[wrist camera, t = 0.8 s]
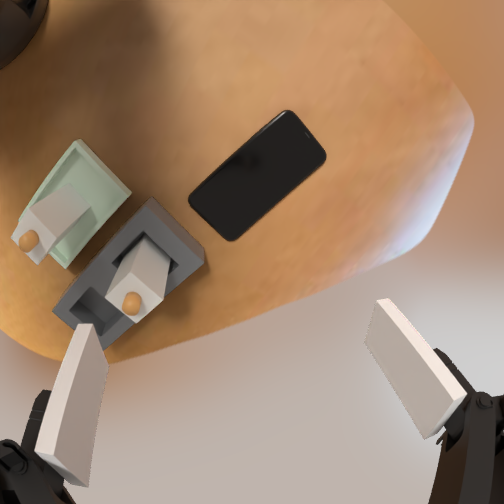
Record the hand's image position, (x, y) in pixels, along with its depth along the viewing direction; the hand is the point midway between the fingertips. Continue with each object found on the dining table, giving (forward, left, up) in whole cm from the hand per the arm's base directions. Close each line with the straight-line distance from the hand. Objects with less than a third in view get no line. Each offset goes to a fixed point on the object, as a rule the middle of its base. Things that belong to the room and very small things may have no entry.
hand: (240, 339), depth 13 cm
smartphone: (+1, +5, -25) cm, 25 cm away
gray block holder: (-1, -15, -24) cm, 28 cm away
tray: (-12, -13, -24) cm, 30 cm away
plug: (-12, -13, -23) cm, 29 cm away
